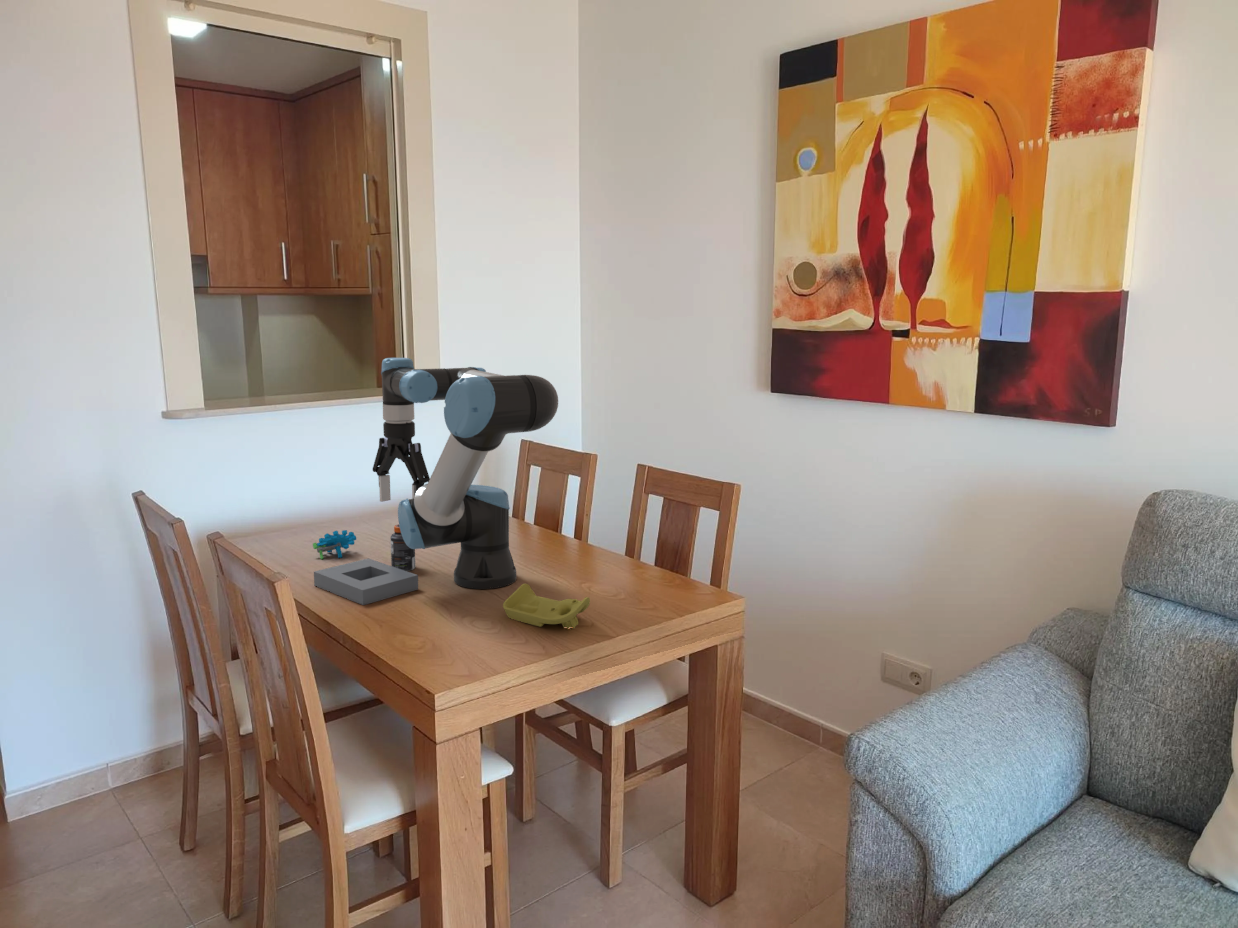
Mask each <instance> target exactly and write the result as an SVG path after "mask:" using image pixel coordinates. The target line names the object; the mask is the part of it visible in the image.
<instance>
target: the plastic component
mask: <svg viewBox="0 0 1238 928" xmlns="http://www.w3.org/2000/svg"><path fill="white" fill-rule="evenodd" d="M590 602H591V598H590V596H586V597H584V598H583V599H582V600H578V599H577V598H574V599H573V598H566V599H563V600H557V599H554V598H553V599H552V598H548V597H545V596H539V595H536V593H535V592H534V590H533V588H532V587H531V586H530V584H528V583H522V584H521V585H520V586H518V588H517V589H516V590H515V591H514V592H513V593H512V594H510V595H509V597H507V599H505V600H504V602H503V604H502V608H503V610H504V611H505V614H506V616H507V617H508V618H509V619H510V618H511V620H513V619H515V620H514V621H517V622H520V621H521V622H520V623H524V624H528V625H532V626H536V627H539V628H540V627H543V626H544V625H558V624H559V625H562V628H564V627H567V628H569V627H573V628H574V629H576V627H577V626H578V625H579V619H578V617H577V615H578V614H581V613H583V612H585V611H586V610H587V609H588V607H589V605H590ZM573 628H572V629H573Z"/></svg>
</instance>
